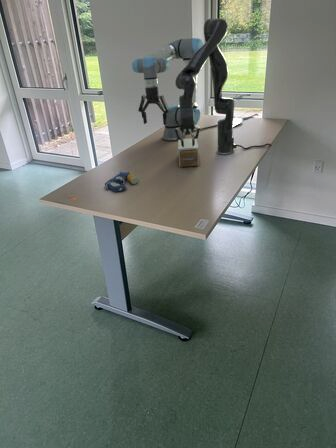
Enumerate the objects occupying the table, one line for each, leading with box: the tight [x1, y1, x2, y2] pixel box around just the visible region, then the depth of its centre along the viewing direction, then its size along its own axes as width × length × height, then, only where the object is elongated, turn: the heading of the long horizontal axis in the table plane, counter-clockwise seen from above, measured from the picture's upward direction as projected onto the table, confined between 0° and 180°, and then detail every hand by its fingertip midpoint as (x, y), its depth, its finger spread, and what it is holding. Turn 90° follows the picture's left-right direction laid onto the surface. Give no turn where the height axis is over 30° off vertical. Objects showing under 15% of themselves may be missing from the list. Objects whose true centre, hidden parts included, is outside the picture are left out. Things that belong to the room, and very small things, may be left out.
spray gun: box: [103, 170, 139, 193], centre depth 182 cm, size 21×4×15 cm
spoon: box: [233, 117, 243, 128], centre depth 261 cm, size 35×11×2 cm, turn 159°
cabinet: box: [177, 137, 200, 168], centre depth 204 cm, size 18×12×11 cm, turn 179°
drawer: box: [178, 150, 199, 167], centre depth 199 cm, size 23×10×9 cm, turn 179°
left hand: (155, 123), depth 203 cm, fingers open, 13 cm apart
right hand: (188, 146), depth 187 cm, fingers open, 5 cm apart
